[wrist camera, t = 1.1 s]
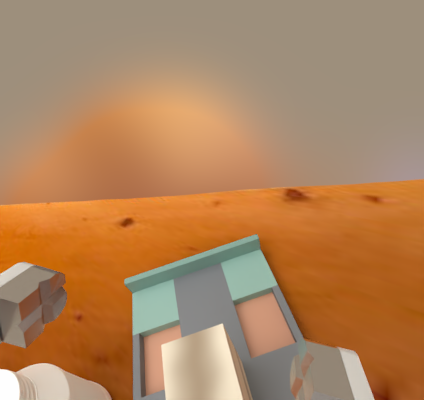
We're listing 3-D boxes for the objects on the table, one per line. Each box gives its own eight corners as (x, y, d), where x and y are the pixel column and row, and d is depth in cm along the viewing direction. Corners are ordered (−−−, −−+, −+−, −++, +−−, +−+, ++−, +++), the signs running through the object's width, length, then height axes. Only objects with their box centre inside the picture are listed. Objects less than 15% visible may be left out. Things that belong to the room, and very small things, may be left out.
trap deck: (259, 251, 46) (256, 234, 43) (329, 398, 30) (334, 390, 26) (137, 293, 45) (124, 279, 42) (141, 467, 29) (120, 467, 26)
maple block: (241, 361, 33) (222, 323, 24) (259, 421, 28) (243, 401, 19) (197, 377, 32) (161, 344, 24) (207, 440, 28) (168, 428, 19)
